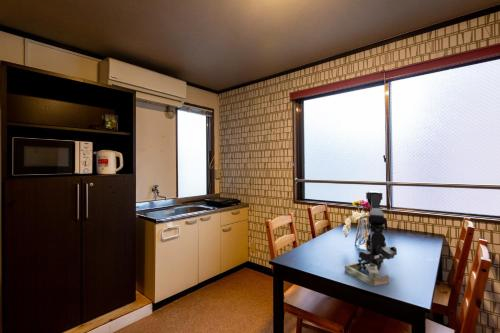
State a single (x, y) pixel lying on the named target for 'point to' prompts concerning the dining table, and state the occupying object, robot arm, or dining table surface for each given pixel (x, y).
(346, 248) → the dining table surface
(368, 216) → the robot arm
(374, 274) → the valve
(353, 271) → the carrier nest
